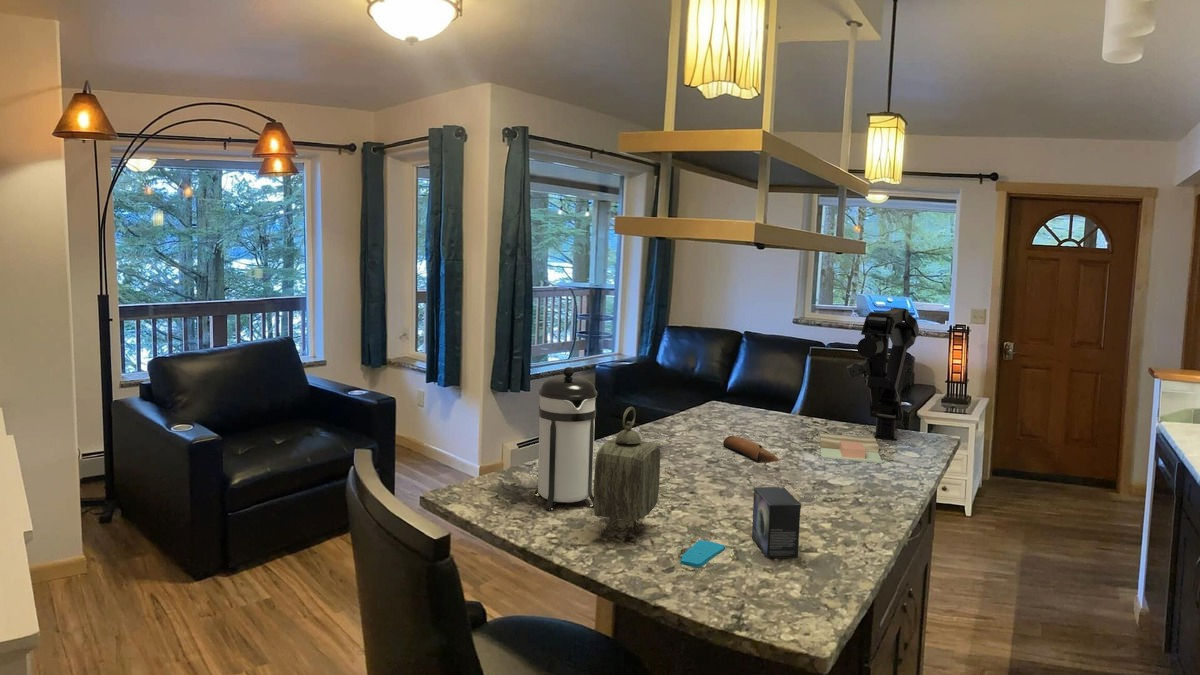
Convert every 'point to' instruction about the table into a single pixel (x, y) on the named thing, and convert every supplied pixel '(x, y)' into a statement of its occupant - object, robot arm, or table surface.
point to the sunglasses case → (749, 449)
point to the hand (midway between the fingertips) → (873, 405)
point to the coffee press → (566, 439)
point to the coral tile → (852, 449)
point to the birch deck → (834, 441)
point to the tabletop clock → (626, 477)
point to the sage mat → (837, 455)
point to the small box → (776, 522)
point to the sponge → (701, 553)
